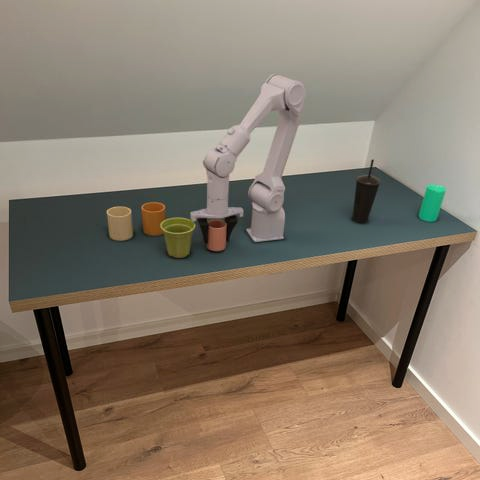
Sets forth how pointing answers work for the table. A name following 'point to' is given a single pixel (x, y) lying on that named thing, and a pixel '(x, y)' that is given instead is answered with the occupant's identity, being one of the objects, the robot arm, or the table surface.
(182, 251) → the plant pot
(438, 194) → the candle
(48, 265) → the table surface
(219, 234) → the rose cup
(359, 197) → the drinking cup
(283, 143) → the robot arm
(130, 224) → the cream cup
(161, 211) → the ochre cup
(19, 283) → the table surface
